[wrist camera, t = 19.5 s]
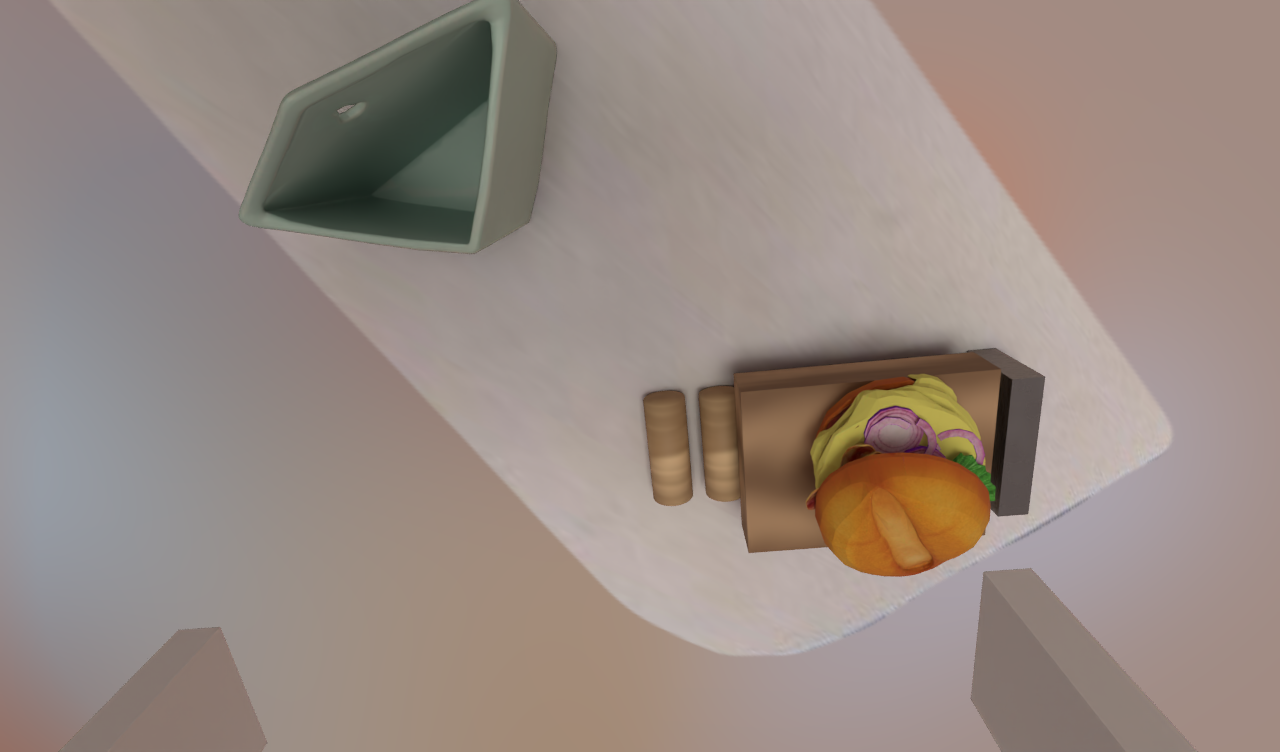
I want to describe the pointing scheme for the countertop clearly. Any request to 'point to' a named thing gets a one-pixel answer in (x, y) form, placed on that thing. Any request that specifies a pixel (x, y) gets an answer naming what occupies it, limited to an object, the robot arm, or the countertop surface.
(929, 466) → the cheeseburger
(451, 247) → the planter
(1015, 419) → the stop rail
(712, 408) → the cylinder
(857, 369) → the board
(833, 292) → the countertop surface
